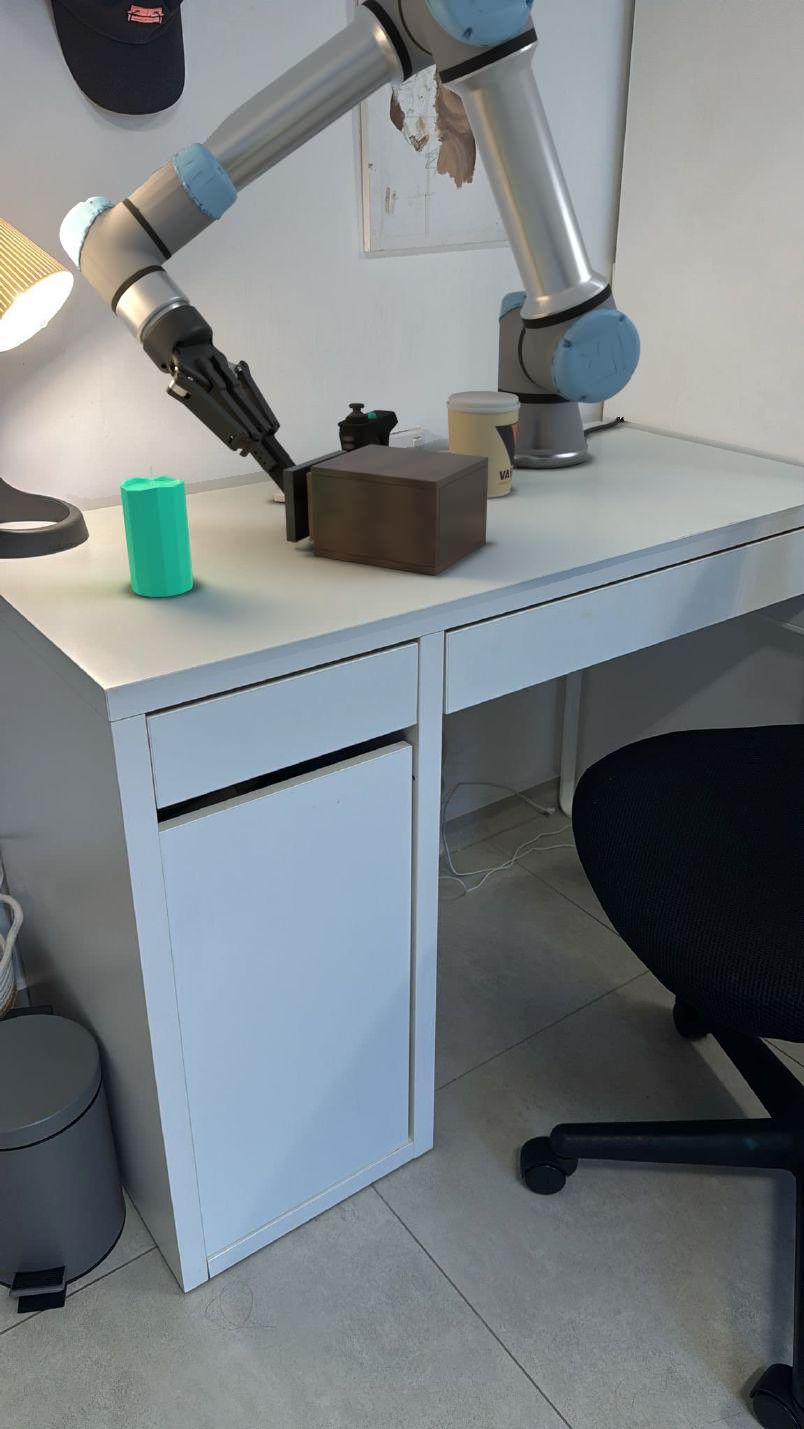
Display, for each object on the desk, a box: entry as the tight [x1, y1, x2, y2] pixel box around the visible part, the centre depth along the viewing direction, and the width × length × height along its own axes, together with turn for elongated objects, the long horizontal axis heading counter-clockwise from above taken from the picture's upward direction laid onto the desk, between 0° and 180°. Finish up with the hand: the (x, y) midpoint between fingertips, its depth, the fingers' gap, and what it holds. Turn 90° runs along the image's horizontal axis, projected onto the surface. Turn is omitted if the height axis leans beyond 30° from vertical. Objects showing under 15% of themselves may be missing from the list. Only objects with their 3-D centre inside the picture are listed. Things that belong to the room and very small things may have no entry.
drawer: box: [283, 449, 347, 544], centre depth 119 cm, size 15×11×8 cm
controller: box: [337, 402, 399, 453], centre depth 149 cm, size 4×12×10 cm, turn 155°
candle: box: [119, 465, 194, 598], centre depth 105 cm, size 6×6×12 cm
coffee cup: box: [446, 390, 520, 499], centre depth 140 cm, size 9×9×12 cm
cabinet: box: [311, 444, 488, 576], centre depth 117 cm, size 15×13×10 cm
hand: (297, 489), depth 122 cm, fingers closed
